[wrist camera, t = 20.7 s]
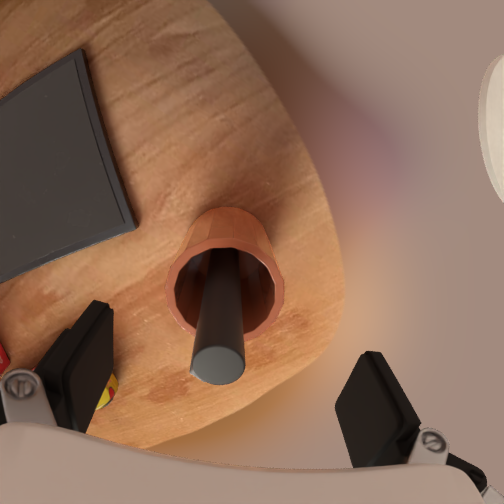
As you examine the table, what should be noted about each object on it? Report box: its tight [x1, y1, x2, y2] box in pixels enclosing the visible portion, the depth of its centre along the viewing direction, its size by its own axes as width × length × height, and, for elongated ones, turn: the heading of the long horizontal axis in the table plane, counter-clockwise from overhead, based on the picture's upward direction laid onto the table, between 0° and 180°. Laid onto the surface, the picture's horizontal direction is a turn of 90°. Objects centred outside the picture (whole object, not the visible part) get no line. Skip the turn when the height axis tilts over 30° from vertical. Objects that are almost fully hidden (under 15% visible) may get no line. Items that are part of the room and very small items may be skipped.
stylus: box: [190, 247, 245, 385], centre depth 18 cm, size 2×2×13 cm
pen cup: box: [165, 207, 284, 342], centre depth 20 cm, size 6×6×8 cm
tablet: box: [0, 48, 139, 283], centre depth 21 cm, size 22×15×1 cm
